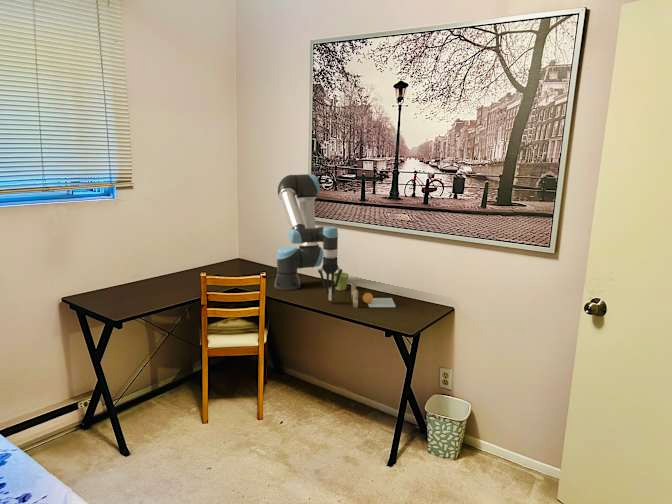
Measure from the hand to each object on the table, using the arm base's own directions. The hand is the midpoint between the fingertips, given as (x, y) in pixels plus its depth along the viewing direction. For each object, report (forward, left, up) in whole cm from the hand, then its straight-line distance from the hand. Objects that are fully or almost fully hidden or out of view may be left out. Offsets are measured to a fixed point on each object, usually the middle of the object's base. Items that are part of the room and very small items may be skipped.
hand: (330, 299), depth 262 cm
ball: (0, +20, +1) cm, 20 cm away
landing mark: (0, +27, -2) cm, 27 cm away
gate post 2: (+6, +13, -2) cm, 15 cm away
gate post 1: (-6, +13, -2) cm, 15 cm away
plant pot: (-24, +7, -2) cm, 25 cm away
